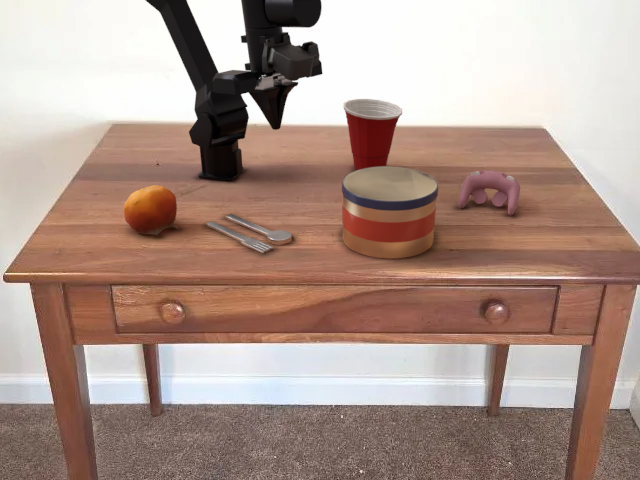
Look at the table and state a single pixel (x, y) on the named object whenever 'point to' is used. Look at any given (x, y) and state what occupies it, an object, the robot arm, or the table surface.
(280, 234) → the spoon
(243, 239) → the fork
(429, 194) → the tin
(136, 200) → the fruit
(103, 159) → the table surface
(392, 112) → the plastic cup
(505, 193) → the video game controller
